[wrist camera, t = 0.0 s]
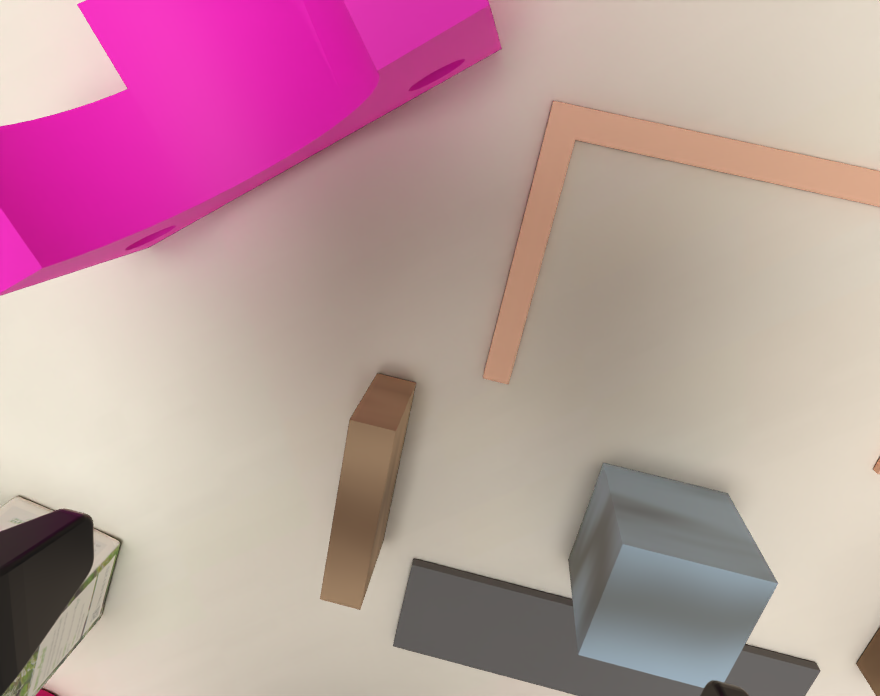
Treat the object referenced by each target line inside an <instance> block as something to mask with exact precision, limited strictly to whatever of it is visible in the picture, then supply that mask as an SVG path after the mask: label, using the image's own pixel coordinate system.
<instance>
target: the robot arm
mask: <svg viewBox="0 0 880 696" xmlns="http://www.w3.org/2000/svg"><path fill="white" fill-rule="evenodd" d="M93 561H94V531H93V520H92V518H91V517H90V516H89V515H88V514H85V513H81V512H77V511H73V510H69V509H59V510H56V511H53V512H50V513H48V514H45V515H42V516H40V517H37V518H34V519H32V520H29V521H26V522H24V523H21V524H18V525H16V526H13V527H10V528H8V529H5V530H2V531H0V696H2V695H3V694H4V693H5V691H6V690H7V689H8V688H9V686H10V685H11V684H12V683H13V681H14V680H15V679H16V678H17V676H18V675H19V674H20V672H21V671H22V670H23V668H24V667H25V666H26V664H27V663H28V661H29V660H30V659H31V657H32V656H33V654H34V653H35V651H36V650H37V649H38V647H39V646H40V644H41V643H42V641H43V640H44V638H45V637H46V636H47V634H48V633H49V631H50V630H51V628H52V627H53V625H54V624H55V623H56V621H57V620H58V618H59V617H60V615H61V614H62V612H63V611H64V609H65V608H66V607H67V605H68V604H69V602H70V601H71V599H72V598H73V596H74V595H75V594H76V592H77V591H78V589H79V588H80V586H81V585H82V583H83V582H84V581H85V579H86V578H87V576H88V574H89V572H90V570H91V568H92V565H93ZM700 696H749V694H748V693H747V692H746V691H745V690H743V689H742V688H740V687H738V686H735V685H732V684H728V683H724V682H720V681H717V680H712V681H710V682H708V683H707V684H706V686H705V687H704V689H703V691H702V693H701V695H700Z"/></svg>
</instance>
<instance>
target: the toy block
mask: <svg viewBox="0 0 880 696" xmlns="http://www.w3.org/2000/svg"><path fill="white" fill-rule="evenodd" d="M77 5H78V7H79V8H80V10H81V12H82V13H83V15H84V17H85V18H86V20H87V22H88V23H89V25H90V27H91V28H92V30H93V32H94V33H95V35H96V37H97V38H98V40H99V42H100V43H101V45H102V47H103V48H104V50H105V52H106V53H107V55H108V57H109V58H110V60H111V62H112V63H113V65H114V67H115V68H116V70H117V72H118V73H119V75H120V77H121V78H122V80H123V82H124V83H125V85H126V87H127V88H128V89H127V90H124V91H122V92H119V93H117V94H115V95H112V96H109V97H107V98H104V99H101V100H99V101H96V102H93V103H90V104H87V105H84V106H81V107H78V108H75V109H72V110H68V111H65V112H62V113H58V114H55V115H51V116H47V117H43V118H39V119H35V120H31V121H26V122H21V123H17V124H12V125H6V126H0V296H1V295H4V294H7V293H10V292H13V291H16V290H19V289H22V288H25V287H29V286H32V285H35V284H38V283H41V282H44V281H47V280H50V279H53V278H56V277H59V276H63V275H66V274H69V273H72V272H75V271H78V270H81V269H84V268H87V267H90V266H93V265H96V264H100V263H103V262H106V261H109V260H112V259H115V258H118V257H121V256H124V255H127V254H130V253H134V252H137V251H140V250H143V249H146V248H149V247H151V246H152V245H154V244H156V243H158V242H159V241H161V240H163V239H165V238H167V237H168V236H170V235H172V234H174V233H175V232H177V231H179V230H181V229H183V228H184V227H186V226H188V225H190V224H191V223H193V222H195V221H197V220H198V219H200V218H202V217H204V216H206V215H207V214H209V213H211V212H213V211H214V210H216V209H218V208H220V207H222V206H223V205H225V204H227V203H229V202H230V201H232V200H234V199H236V198H238V197H239V196H241V195H243V194H245V193H246V192H248V191H250V190H252V189H254V188H255V187H257V186H259V185H261V184H262V183H264V182H266V181H268V180H269V179H271V178H273V177H275V176H277V175H278V174H280V173H282V172H284V171H285V170H287V169H289V168H291V167H293V166H294V165H296V164H298V163H300V162H301V161H303V160H305V159H307V158H309V157H310V156H312V155H314V154H316V153H317V152H319V151H321V150H323V149H325V148H326V147H328V146H330V145H332V144H333V143H335V142H337V141H339V140H340V139H342V138H344V137H346V136H348V135H349V134H351V133H353V132H355V131H356V130H358V129H360V128H362V127H364V126H365V125H367V124H369V123H371V122H372V121H374V120H376V119H378V118H380V117H381V116H383V115H385V114H387V113H388V112H390V111H392V110H394V109H396V108H397V107H399V106H401V105H403V104H404V103H406V102H408V101H410V100H411V99H413V98H415V97H417V96H419V95H420V94H422V93H424V92H426V91H427V90H429V89H431V88H433V87H435V86H436V85H438V84H440V83H442V82H443V81H445V80H447V79H449V78H451V77H452V76H454V75H456V74H458V73H459V72H461V71H463V70H465V69H466V68H468V67H470V66H472V65H474V64H475V63H477V62H479V61H481V60H482V59H484V58H486V57H488V56H490V55H491V54H493V53H495V52H497V51H498V50H500V49H502V48H501V45H500V41H499V37H498V34H497V30H496V26H495V23H494V19H493V15H492V12H491V8H490V5H489V2H488V0H86V1H84V2H81V3H79V4H77Z"/></svg>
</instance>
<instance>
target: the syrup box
mask: <svg viewBox="0 0 880 696" xmlns="http://www.w3.org/2000/svg"><path fill="white" fill-rule="evenodd" d="M50 512H53V510H50V509H48V508H45V507H43V506H41V505H38V504H36V503H34V502H31V501H29V500H26V499H23V498H21V497H19V496H17V497H16V498H13V499H12V500H10V501H9V502H8V503H6V504H5V505H4V506H2V507H1V508H0V531H2V530H5V529H8V528H10V527H13V526H16V525H18V524H21V523H24V522H26V521H29V520H32V519H34V518H37V517H40V516H42V515H45V514H48V513H50ZM93 531H94V561H93V565H92V568H91V570H90V572H89V574H88V576H87V578H86V579H85V581H84V582H83V583H82V585H81V586H80V588H79V589H78V591H77V592H76V594H75V595H74V596H73V598H72V599H71V601H70V602H69V604H68V605H67V607H66V608H65V609H64V611H63V612H62V614H61V615H60V617H59V618H58V620H57V621H56V623H55V624H54V625H53V627H52V628H51V630H50V631H49V633H48V634H47V636H46V637H45V638H44V640H43V641H42V643H41V644H40V646H39V647H38V649H37V650H36V651H35V653H34V654H33V656H32V657H31V659H30V660H29V661H28V663H27V664H26V666H25V667H24V668H23V670H22V671H21V672H20V674H19V675H18V676H17V678H16V679H15V680H14V681H13V683H12V684H11V685H10V686H9V688H8V689H7V690H6V691H5V693H4V694H3V695H2V696H35V695H36V694H37V693H38V692H39V691H40V689H41V688H42V687H43V686H44V685H45V683H46V682H47V681H48V680H49V679H50V677H51V676H52V675H53V674H54V673H55V672H56V670H57V669H58V668H59V667H60V665H61V664H62V663H63V662H64V661H65V659H66V658H67V657H68V656H69V655H70V653H71V652H72V651H73V650H74V649H75V648H76V646H77V645H78V644H79V643H80V642H81V640H82V639H83V638H84V637H85V636H86V634H87V633H88V632H89V631H90V630H91V628H92V627H93V626H94V625H95V624H96V622H97V621H98V620H99V619H100V618H101V615H102V611H103V608H104V603H105V599H106V596H107V591H108V588H109V584H110V580H111V576H112V573H113V569H114V565H115V562H116V558H117V555H118V551H119V546H120V543H119V541H117V540H116V539H114V538H112V537H110V536H108V535H106V534H104V533H102V532H100V531H98V530H96V529H94V528H93Z"/></svg>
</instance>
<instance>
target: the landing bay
mask: <svg viewBox="0 0 880 696" xmlns="http://www.w3.org/2000/svg"><path fill="white" fill-rule="evenodd" d="M575 140H578V141H583V142H587V143H592V144H596V145H601V146H605V147H610V148H615V149H619V150H624V151H628V152H633V153H637V154H642V155H646V156H651V157H656V158H660V159H665V160H669V161H674V162H678V163H683V164H687V165H692V166H697V167H701V168H706V169H710V170H715V171H719V172H724V173H728V174H733V175H738V176H742V177H747V178H751V179H756V180H760V181H765V182H769V183H774V184H779V185H783V186H788V187H792V188H797V189H801V190H806V191H810V192H815V193H820V194H824V195H829V196H833V197H838V198H842V199H847V200H851V201H856V202H860V203H865V204H870V205H874V206H879V207H880V171H876V170H871V169H867V168H862V167H857V166H853V165H848V164H843V163H839V162H834V161H830V160H825V159H820V158H816V157H811V156H807V155H802V154H797V153H793V152H788V151H783V150H779V149H774V148H770V147H765V146H760V145H756V144H751V143H747V142H742V141H737V140H733V139H728V138H723V137H719V136H714V135H710V134H705V133H700V132H696V131H691V130H687V129H682V128H677V127H673V126H668V125H663V124H659V123H654V122H650V121H645V120H640V119H636V118H631V117H627V116H622V115H617V114H613V113H608V112H603V111H599V110H594V109H590V108H585V107H580V106H576V105H571V104H566V103H562V102H557V101H553V104H552V108H551V111H550V115H549V119H548V123H547V127H546V131H545V135H544V139H543V143H542V147H541V151H540V155H539V159H538V163H537V166H536V170H535V174H534V178H533V182H532V186H531V190H530V194H529V198H528V202H527V206H526V210H525V214H524V218H523V222H522V225H521V229H520V233H519V237H518V241H517V245H516V249H515V253H514V257H513V261H512V265H511V269H510V273H509V277H508V280H507V284H506V288H505V292H504V296H503V300H502V304H501V308H500V312H499V316H498V320H497V324H496V328H495V332H494V335H493V339H492V343H491V347H490V351H489V355H488V359H487V363H486V367H485V371H484V375H483V378H484V379H488V380H492V381H496V382H500V383H505V384H509V380H510V377H511V373H512V369H513V366H514V362H515V358H516V355H517V351H518V348H519V344H520V340H521V337H522V333H523V329H524V326H525V322H526V318H527V315H528V311H529V307H530V304H531V300H532V296H533V293H534V289H535V285H536V282H537V278H538V275H539V271H540V267H541V264H542V260H543V256H544V253H545V249H546V245H547V242H548V238H549V234H550V231H551V227H552V223H553V220H554V216H555V212H556V209H557V205H558V202H559V198H560V194H561V191H562V187H563V183H564V180H565V176H566V172H567V169H568V165H569V161H570V158H571V154H572V150H573V147H574V143H575ZM873 470H874V471H875V472H876V473H877V474H880V458H879V460H878V462H877V464H876V465H875V467H874V469H873Z"/></svg>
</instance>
